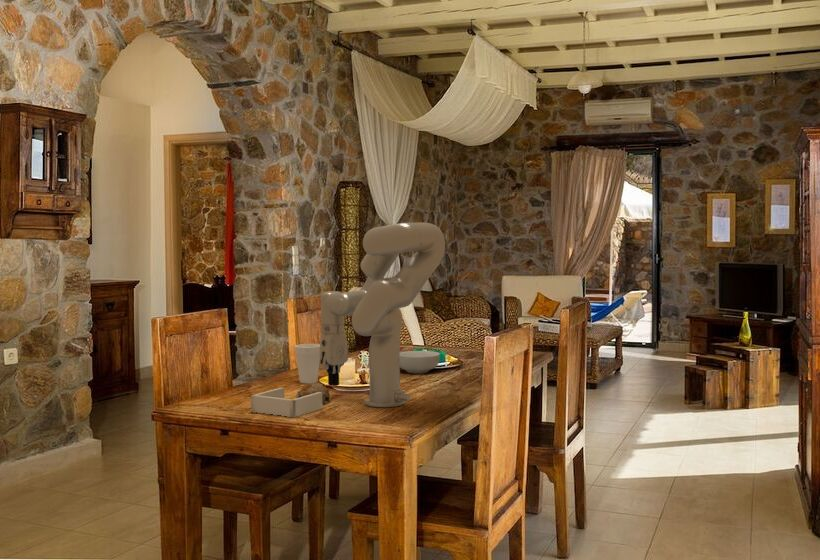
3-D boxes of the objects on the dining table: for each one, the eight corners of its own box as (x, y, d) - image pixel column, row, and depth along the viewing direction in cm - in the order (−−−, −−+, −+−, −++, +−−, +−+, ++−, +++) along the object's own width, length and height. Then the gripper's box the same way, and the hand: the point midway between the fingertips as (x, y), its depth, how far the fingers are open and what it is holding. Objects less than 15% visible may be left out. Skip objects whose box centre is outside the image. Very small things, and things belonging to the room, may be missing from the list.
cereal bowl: (448, 371, 318) (448, 352, 317) (420, 377, 305) (420, 358, 305) (415, 366, 329) (415, 348, 329) (386, 372, 317) (386, 353, 316)
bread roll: (318, 417, 259) (328, 395, 258) (289, 402, 260) (299, 380, 259) (327, 410, 268) (337, 388, 267) (299, 396, 270) (309, 374, 269)
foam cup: (318, 378, 305) (318, 343, 304) (324, 383, 296) (323, 346, 295) (293, 380, 302) (292, 344, 301) (297, 385, 293) (297, 348, 292)
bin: (322, 408, 255) (322, 392, 254) (293, 417, 243) (292, 400, 242) (281, 403, 263) (281, 387, 263) (251, 411, 251) (251, 395, 251)
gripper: (328, 332, 263) (329, 390, 265) (355, 327, 276) (356, 382, 277) (309, 331, 267) (310, 388, 269) (337, 326, 280) (337, 380, 281)
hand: (333, 385), depth 273 cm, fingers closed
